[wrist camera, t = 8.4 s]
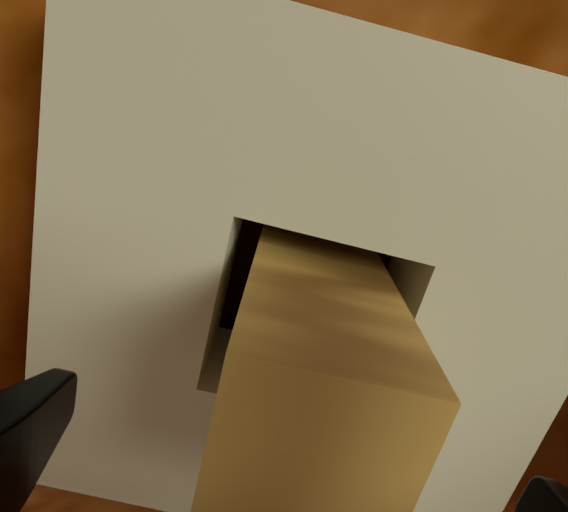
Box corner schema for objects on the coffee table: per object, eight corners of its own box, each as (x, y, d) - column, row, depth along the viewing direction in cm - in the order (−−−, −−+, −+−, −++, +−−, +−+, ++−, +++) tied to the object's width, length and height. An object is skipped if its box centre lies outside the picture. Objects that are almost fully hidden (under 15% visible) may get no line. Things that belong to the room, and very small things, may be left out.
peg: (372, 243, 16) (461, 404, 7) (342, 337, 17) (386, 568, 8) (265, 218, 15) (226, 351, 7) (243, 314, 17) (186, 527, 8)
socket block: (606, 116, 14) (721, 119, 10) (433, 482, 19) (466, 575, 15) (121, -16, 13) (49, -66, 9) (76, 403, 18) (19, 480, 15)
